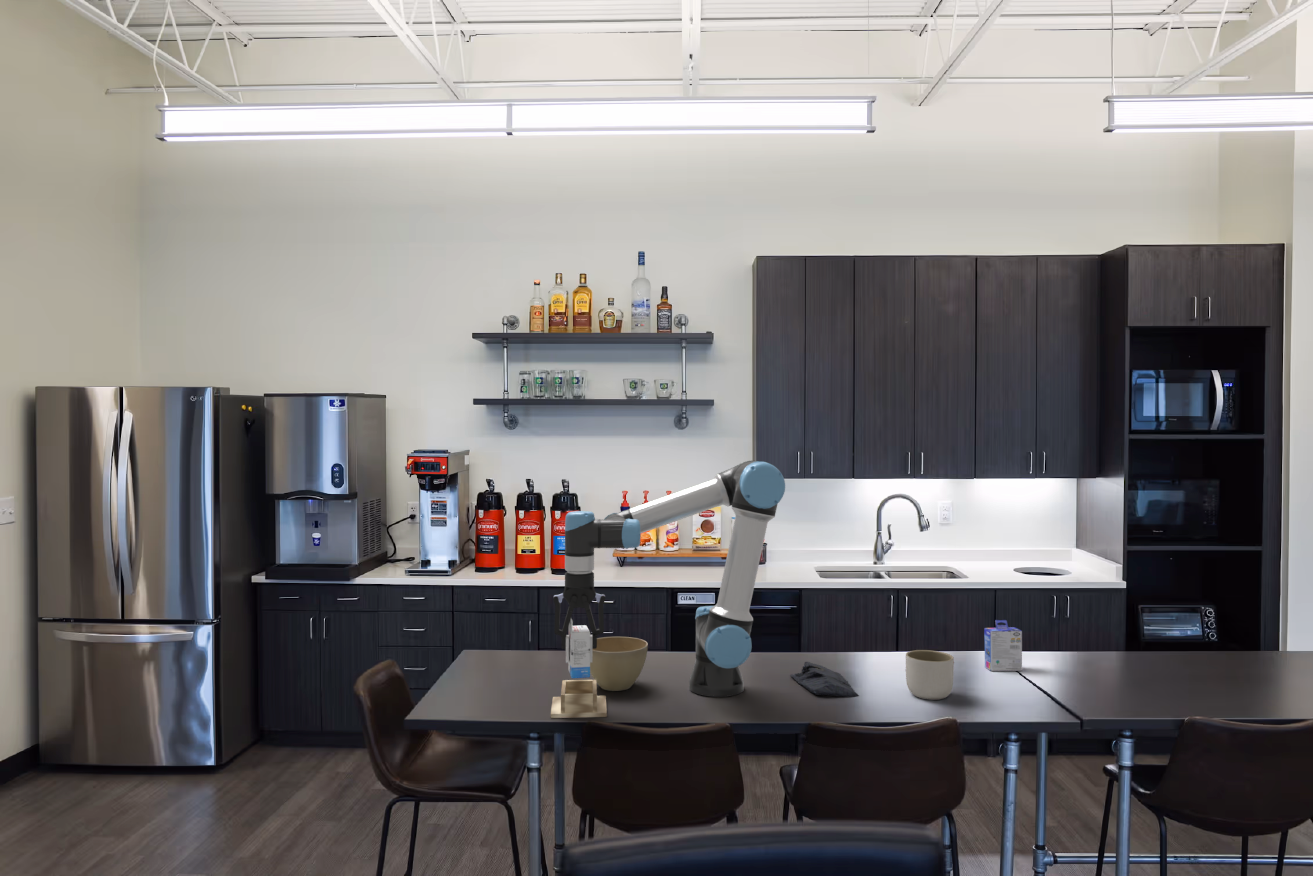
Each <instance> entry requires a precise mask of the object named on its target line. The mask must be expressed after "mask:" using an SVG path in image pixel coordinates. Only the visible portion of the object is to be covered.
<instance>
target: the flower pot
mask: <svg viewBox="0 0 1313 876" xmlns="http://www.w3.org/2000/svg"><path fill="white" fill-rule="evenodd" d="M648 648H649V646H648V642H647V641H646V640H644V639H641V638H638V637H629V636H604V637H597V648H596V649H592V662H590V676H592V678H593V680H596V684H597V685H598V686H599V687H600V688H601V689H602V690H604V691H609V692H621V691H625V690H628V689H630V688H631V687H633V685H634V684H635V682H636V681H637V680H638V678H639V677H640V674H641V672H642V670H643V668H644V666H645V664H646V663H645V662H646V661H647V659H646V658H647V656H648V655H647V654H648Z"/></svg>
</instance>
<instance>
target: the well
mask: <svg viewBox="0 0 1313 876" xmlns="http://www.w3.org/2000/svg"><path fill="white" fill-rule="evenodd" d="M597 685H598V683H597V682H596V680H595V679H569V680H568V679H565V680H564V679H563V680H561V691H560V696H552V700H551V701H552V703H551V708H550V719H562V718H564V719H565V718H568V719H569V718H571V719H572V718H573V719H574V718H576V719H577V718H607V717H608V711H607V699H606V698H607V696H606V695H598V690H597V687H598V686H597Z"/></svg>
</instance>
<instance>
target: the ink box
mask: <svg viewBox="0 0 1313 876" xmlns="http://www.w3.org/2000/svg"><path fill="white" fill-rule="evenodd" d="M573 622H574V621H573V619H572V617H571V620H570V623H569V627H568V635H569V663H567V664H568V672H569V675H570V678H571V680H574V679H584V678H585V679H586V678H590V677H591V673H590V635H591V632H590V631H591V630H590V629H589V628H588V626H587V624H586V625H585V624H584V625H582V624H581V625H573Z"/></svg>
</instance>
